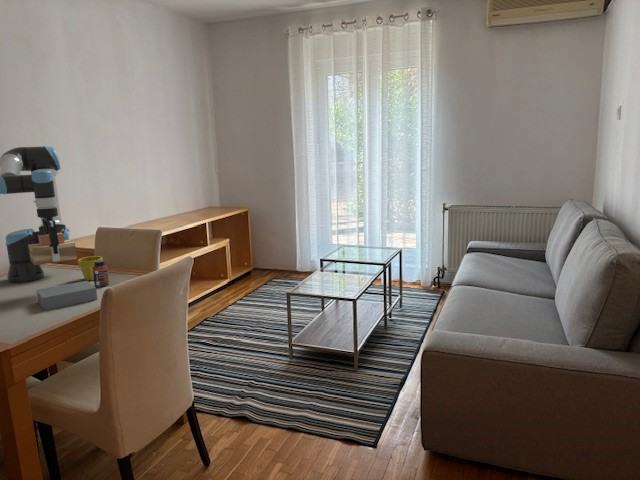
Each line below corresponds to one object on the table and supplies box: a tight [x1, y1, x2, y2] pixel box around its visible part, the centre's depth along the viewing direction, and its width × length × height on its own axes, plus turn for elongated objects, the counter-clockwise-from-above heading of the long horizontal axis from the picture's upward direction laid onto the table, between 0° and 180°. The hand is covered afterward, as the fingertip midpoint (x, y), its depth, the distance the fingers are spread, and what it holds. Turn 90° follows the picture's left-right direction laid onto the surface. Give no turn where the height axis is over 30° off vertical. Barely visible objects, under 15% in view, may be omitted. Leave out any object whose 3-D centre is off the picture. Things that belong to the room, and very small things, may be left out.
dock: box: [36, 280, 98, 311], centre depth 192 cm, size 14×19×5 cm
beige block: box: [28, 238, 78, 266], centre depth 203 cm, size 10×16×7 cm, turn 129°
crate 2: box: [54, 233, 65, 244], centre depth 203 cm, size 4×4×4 cm
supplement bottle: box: [93, 260, 110, 288], centre depth 211 cm, size 6×6×11 cm
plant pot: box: [77, 255, 103, 281], centre depth 224 cm, size 10×10×10 cm
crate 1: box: [38, 234, 51, 246], centre depth 200 cm, size 4×4×4 cm
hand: (54, 258), depth 204 cm, fingers closed on beige block, 10 cm apart
